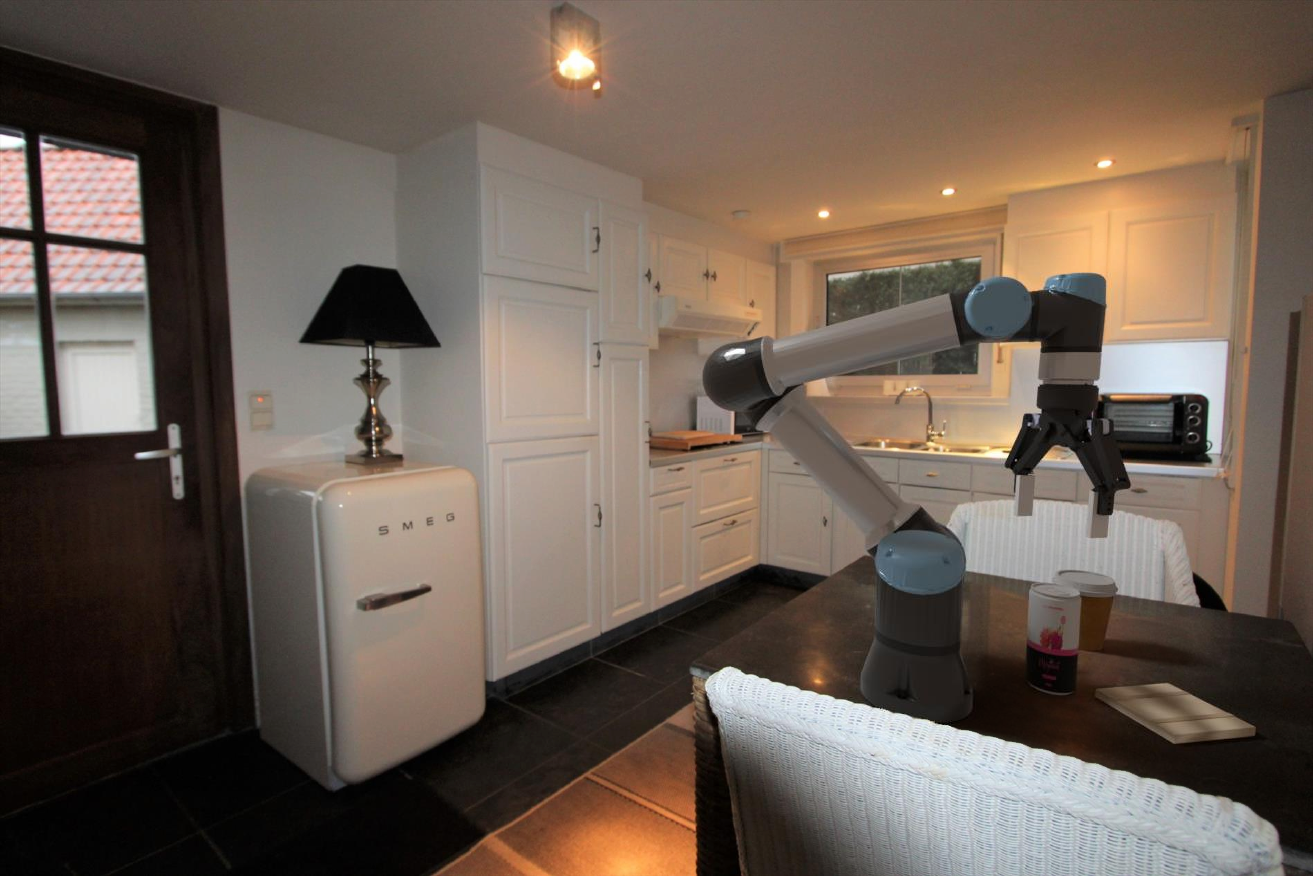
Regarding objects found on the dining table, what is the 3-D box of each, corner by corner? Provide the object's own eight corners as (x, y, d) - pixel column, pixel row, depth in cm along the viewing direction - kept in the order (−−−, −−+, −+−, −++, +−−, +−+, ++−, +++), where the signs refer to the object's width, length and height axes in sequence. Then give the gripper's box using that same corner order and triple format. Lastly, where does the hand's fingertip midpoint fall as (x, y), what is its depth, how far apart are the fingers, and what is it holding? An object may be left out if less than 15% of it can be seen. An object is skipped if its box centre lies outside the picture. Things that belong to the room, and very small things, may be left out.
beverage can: (1056, 700, 90) (1062, 599, 89) (1014, 680, 96) (1019, 585, 95) (1085, 691, 93) (1091, 593, 91) (1043, 672, 99) (1048, 580, 97)
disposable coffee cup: (1125, 657, 104) (1130, 587, 103) (1062, 652, 106) (1066, 583, 105) (1097, 634, 113) (1101, 570, 112) (1039, 630, 115) (1043, 567, 114)
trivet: (1174, 743, 79) (1174, 734, 79) (1095, 696, 91) (1095, 688, 91) (1254, 735, 81) (1255, 726, 81) (1167, 690, 93) (1167, 682, 93)
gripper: (1173, 384, 79) (1158, 547, 81) (1026, 382, 104) (1017, 507, 106) (1123, 383, 78) (1109, 549, 80) (986, 381, 103) (977, 508, 105)
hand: (1057, 526), depth 93 cm, fingers open, 13 cm apart
